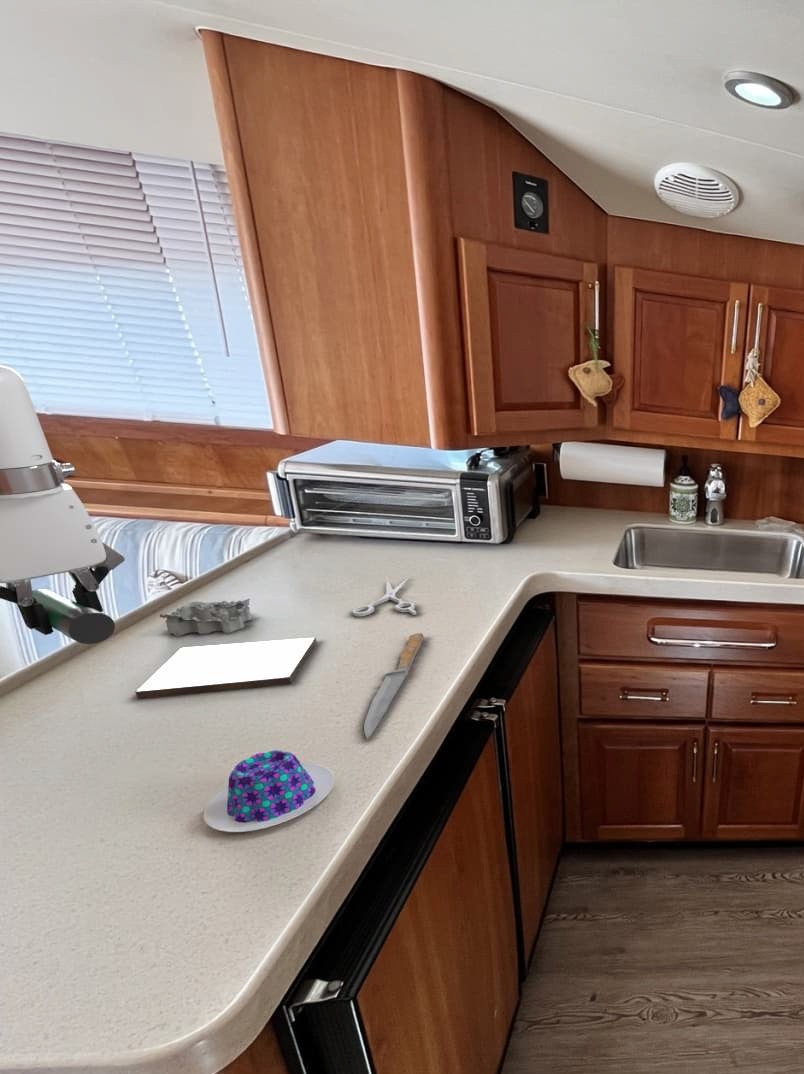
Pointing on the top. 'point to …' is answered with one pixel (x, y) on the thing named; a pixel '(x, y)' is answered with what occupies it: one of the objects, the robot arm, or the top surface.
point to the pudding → (267, 792)
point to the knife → (391, 684)
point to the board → (229, 667)
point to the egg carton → (208, 617)
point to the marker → (75, 618)
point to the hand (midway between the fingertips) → (68, 624)
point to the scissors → (388, 596)
